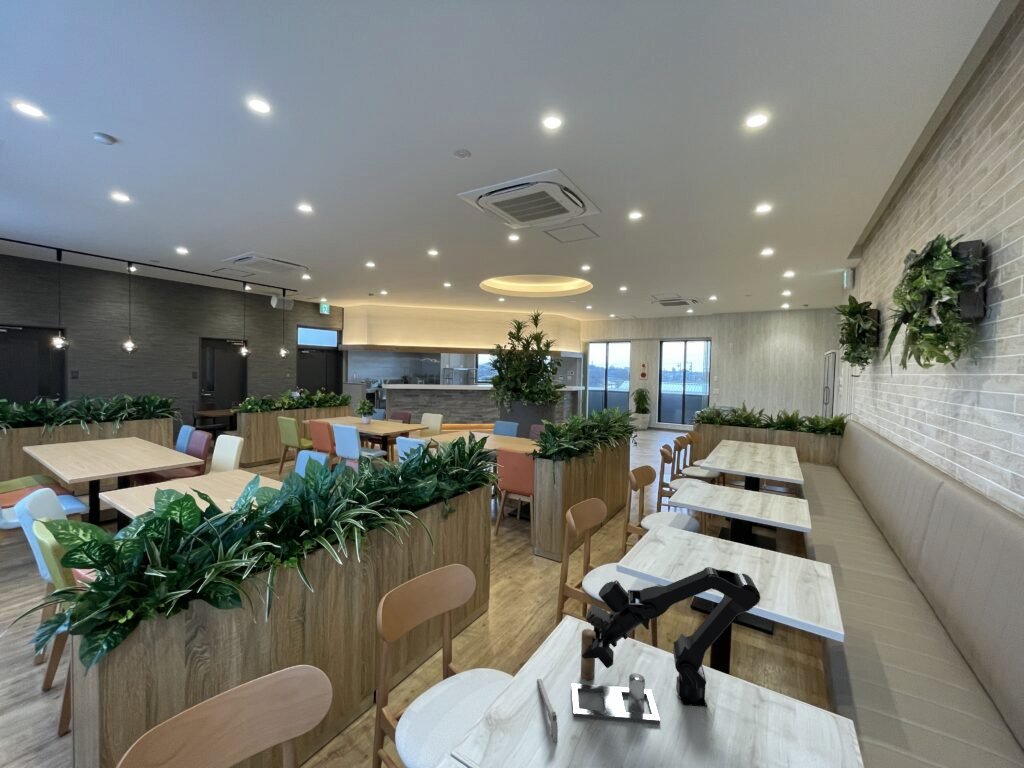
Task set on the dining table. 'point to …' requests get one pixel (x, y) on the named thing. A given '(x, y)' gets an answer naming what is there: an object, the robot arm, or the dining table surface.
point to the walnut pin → (587, 663)
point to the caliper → (549, 711)
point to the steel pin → (636, 692)
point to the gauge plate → (613, 705)
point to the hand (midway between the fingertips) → (583, 651)
